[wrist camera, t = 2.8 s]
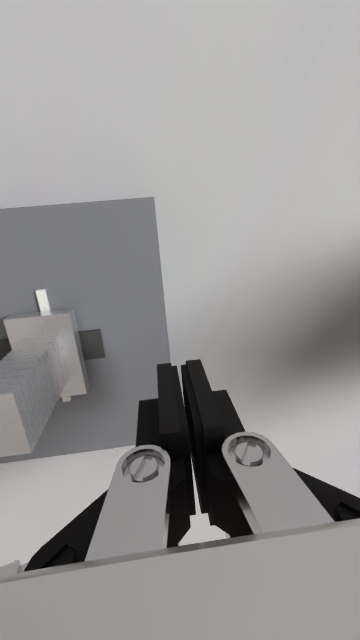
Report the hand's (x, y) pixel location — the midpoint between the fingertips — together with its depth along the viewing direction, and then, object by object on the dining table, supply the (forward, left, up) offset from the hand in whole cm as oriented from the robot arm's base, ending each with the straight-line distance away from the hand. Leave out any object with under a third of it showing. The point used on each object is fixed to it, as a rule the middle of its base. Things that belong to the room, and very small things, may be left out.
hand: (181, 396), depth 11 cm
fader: (0, -6, -5) cm, 8 cm away
